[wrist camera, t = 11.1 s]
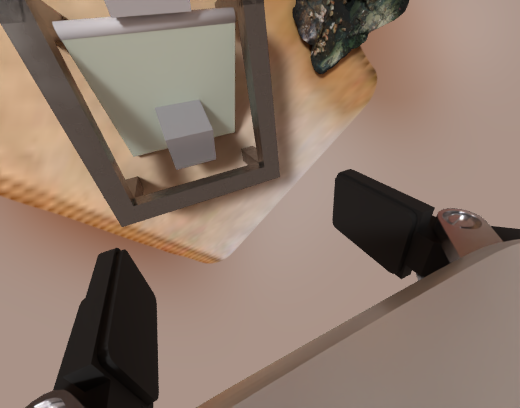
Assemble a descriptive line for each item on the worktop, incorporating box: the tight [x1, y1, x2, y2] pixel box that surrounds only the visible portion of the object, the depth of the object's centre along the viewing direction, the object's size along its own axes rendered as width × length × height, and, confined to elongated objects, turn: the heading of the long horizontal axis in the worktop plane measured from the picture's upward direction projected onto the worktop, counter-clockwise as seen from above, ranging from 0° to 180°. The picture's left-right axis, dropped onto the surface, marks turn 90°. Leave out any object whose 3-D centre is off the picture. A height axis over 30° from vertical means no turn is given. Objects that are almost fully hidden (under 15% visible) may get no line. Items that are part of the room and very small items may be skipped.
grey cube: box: [155, 100, 216, 170], centre depth 26 cm, size 5×5×5 cm
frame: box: [0, 0, 280, 227], centre depth 25 cm, size 20×20×9 cm
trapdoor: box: [52, 0, 236, 156], centre depth 23 cm, size 19×14×2 cm
